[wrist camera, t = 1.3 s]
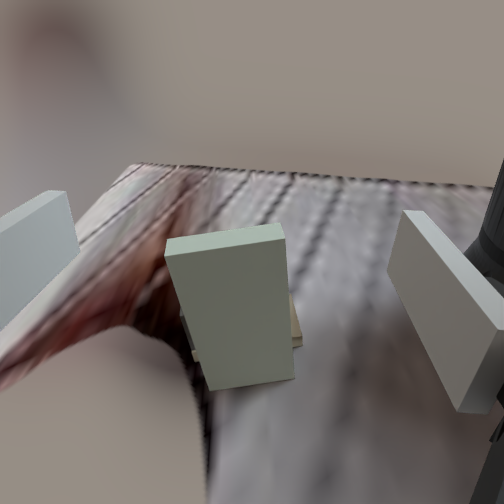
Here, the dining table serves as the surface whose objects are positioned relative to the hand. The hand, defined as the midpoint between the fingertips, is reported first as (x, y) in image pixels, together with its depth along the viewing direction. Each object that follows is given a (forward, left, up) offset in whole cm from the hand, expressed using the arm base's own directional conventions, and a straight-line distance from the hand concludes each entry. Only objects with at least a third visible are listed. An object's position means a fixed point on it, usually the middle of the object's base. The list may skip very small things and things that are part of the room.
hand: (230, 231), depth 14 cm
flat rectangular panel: (+6, -6, -22) cm, 23 cm away
